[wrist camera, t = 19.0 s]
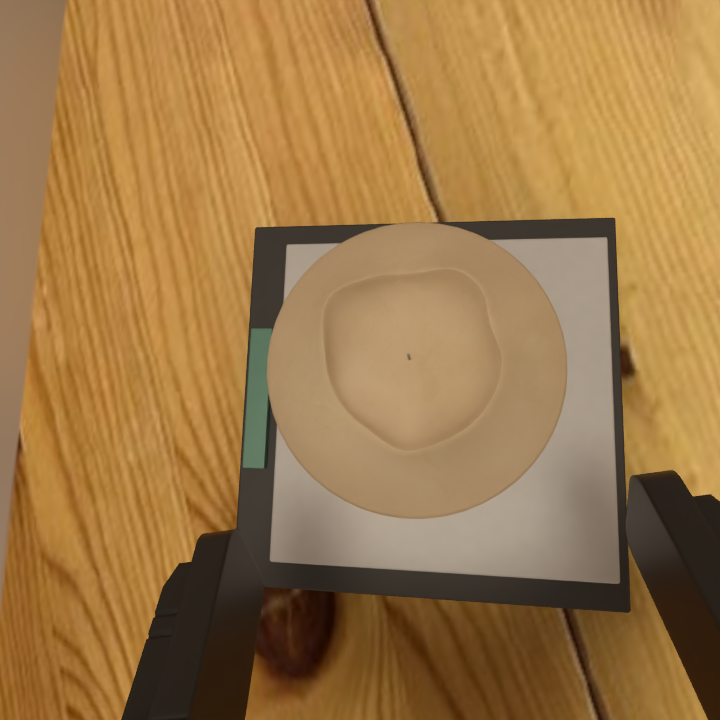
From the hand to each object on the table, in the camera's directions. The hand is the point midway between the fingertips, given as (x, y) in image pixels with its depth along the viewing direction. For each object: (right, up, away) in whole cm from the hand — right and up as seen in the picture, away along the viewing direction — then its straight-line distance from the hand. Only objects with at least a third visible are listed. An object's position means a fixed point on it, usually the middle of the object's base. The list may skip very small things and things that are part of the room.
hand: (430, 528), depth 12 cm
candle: (+1, +2, +7) cm, 7 cm away
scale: (+1, +2, +10) cm, 10 cm away
